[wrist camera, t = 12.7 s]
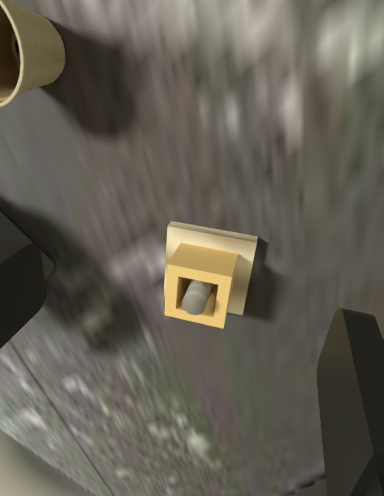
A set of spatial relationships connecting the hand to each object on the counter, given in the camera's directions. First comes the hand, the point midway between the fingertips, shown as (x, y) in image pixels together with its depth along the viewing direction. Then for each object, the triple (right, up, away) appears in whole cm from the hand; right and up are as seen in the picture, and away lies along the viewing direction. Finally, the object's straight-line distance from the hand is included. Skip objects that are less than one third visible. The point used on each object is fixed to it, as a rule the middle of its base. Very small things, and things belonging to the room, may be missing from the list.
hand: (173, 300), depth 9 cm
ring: (+2, -1, +31) cm, 31 cm away
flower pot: (-15, +21, +26) cm, 37 cm away
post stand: (+3, -1, +32) cm, 32 cm away
